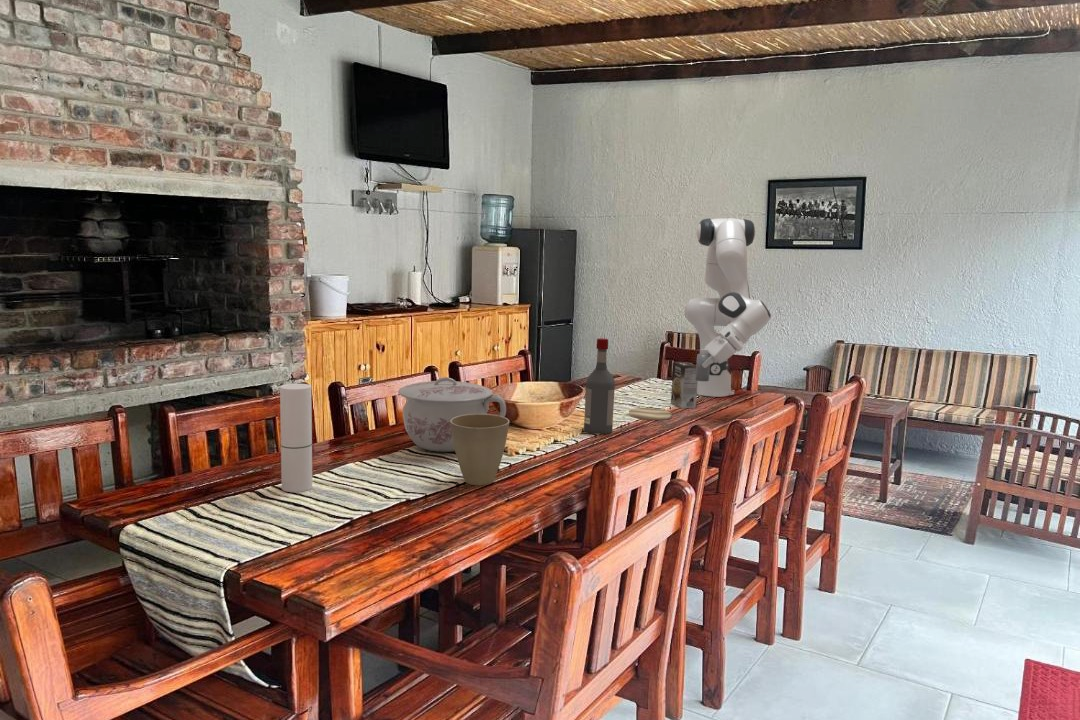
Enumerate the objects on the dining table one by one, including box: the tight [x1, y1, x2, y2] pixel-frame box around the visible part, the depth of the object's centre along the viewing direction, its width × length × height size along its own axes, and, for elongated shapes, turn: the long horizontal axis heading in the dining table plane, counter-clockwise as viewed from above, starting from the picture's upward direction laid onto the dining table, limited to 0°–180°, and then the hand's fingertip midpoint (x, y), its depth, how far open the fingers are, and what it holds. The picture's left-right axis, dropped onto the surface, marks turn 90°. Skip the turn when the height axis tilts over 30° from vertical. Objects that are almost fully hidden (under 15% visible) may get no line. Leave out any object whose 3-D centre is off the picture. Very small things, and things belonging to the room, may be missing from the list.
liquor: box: [583, 337, 616, 435], centre depth 259 cm, size 9×9×30 cm
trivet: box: [628, 407, 673, 421], centre depth 285 cm, size 15×15×1 cm
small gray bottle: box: [695, 348, 711, 381], centre depth 282 cm, size 5×5×11 cm
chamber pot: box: [397, 376, 507, 453], centre depth 234 cm, size 28×28×21 cm
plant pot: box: [450, 413, 510, 486], centre depth 203 cm, size 15×15×16 cm
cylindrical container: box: [279, 383, 313, 493], centre depth 193 cm, size 7×7×25 cm
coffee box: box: [670, 361, 698, 409], centre depth 303 cm, size 9×6×16 cm
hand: (701, 364), depth 282 cm, fingers closed on small gray bottle, 5 cm apart
